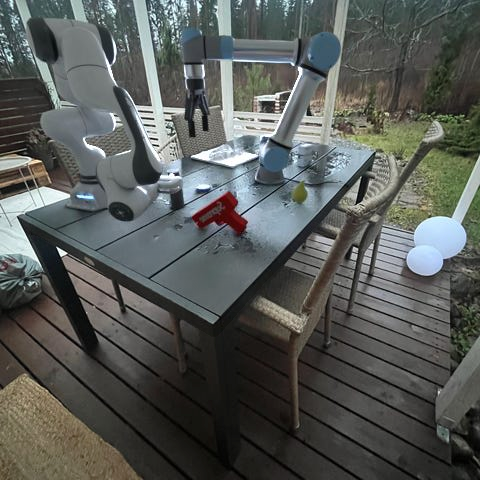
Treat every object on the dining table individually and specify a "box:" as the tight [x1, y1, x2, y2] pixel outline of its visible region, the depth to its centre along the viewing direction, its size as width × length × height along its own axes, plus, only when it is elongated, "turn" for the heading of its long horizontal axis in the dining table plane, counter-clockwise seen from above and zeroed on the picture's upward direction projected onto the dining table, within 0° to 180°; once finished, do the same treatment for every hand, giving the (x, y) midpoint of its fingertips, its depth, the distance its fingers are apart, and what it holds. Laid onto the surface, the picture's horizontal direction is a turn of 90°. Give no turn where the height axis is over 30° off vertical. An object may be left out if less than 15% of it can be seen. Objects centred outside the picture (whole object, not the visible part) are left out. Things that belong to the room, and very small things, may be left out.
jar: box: [166, 168, 185, 210], centre depth 115 cm, size 6×6×16 cm
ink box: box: [296, 143, 314, 168], centre depth 163 cm, size 8×5×12 cm, turn 135°
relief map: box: [190, 143, 259, 169], centre depth 179 cm, size 27×35×5 cm
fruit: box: [291, 174, 311, 204], centre depth 118 cm, size 7×8×12 cm
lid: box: [196, 183, 211, 194], centre depth 133 cm, size 6×6×2 cm
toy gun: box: [190, 190, 249, 236], centre depth 99 cm, size 18×4×15 cm
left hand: (160, 175), depth 99 cm, fingers open, 8 cm apart
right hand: (199, 134), depth 119 cm, fingers open, 13 cm apart
